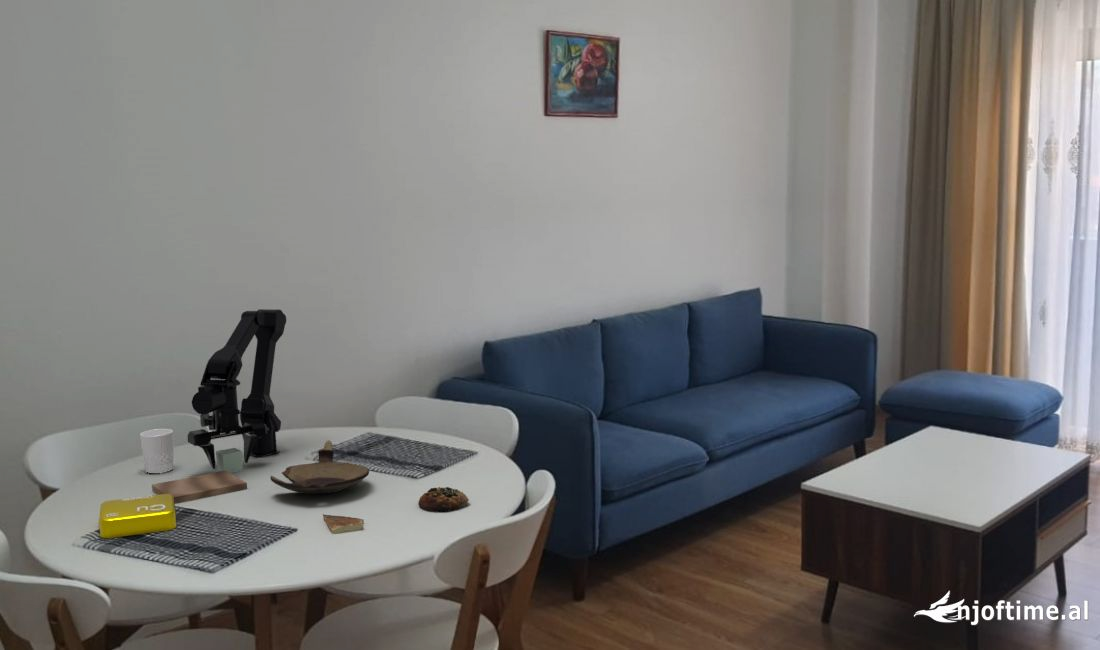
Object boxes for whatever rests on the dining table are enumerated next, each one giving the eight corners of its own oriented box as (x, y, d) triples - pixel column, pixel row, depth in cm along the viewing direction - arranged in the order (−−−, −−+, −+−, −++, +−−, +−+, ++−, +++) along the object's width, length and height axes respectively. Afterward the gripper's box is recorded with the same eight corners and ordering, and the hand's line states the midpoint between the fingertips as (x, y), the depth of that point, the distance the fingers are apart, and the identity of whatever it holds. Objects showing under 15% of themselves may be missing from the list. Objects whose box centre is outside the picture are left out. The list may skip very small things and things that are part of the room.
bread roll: (422, 514, 230) (421, 491, 230) (415, 506, 241) (414, 484, 241) (472, 511, 233) (472, 488, 233) (463, 503, 244) (462, 482, 244)
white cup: (169, 474, 267) (166, 435, 265) (138, 475, 267) (134, 436, 266) (180, 466, 275) (177, 428, 273) (150, 466, 275) (147, 429, 273)
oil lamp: (252, 504, 241) (250, 471, 240) (314, 468, 270) (312, 439, 269) (342, 510, 235) (340, 477, 234) (395, 473, 264) (394, 443, 263)
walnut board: (225, 476, 264) (225, 470, 264) (247, 488, 253) (246, 482, 253) (152, 490, 253) (151, 484, 253) (171, 504, 242) (170, 497, 242)
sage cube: (236, 466, 273) (234, 447, 272) (243, 470, 269) (242, 451, 269) (217, 470, 270) (215, 451, 269) (224, 474, 266) (222, 454, 266)
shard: (322, 520, 229) (322, 512, 229) (358, 516, 232) (357, 508, 232) (331, 536, 219) (330, 528, 219) (367, 531, 222) (367, 523, 222)
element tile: (174, 511, 239) (172, 490, 238) (176, 531, 225) (175, 509, 224) (102, 520, 233) (100, 499, 233) (100, 541, 220) (98, 519, 219)
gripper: (249, 395, 279) (253, 453, 281) (178, 406, 268) (182, 466, 270) (266, 402, 270) (269, 461, 273) (193, 413, 259) (197, 475, 262)
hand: (229, 465), depth 270 cm, fingers open, 8 cm apart
